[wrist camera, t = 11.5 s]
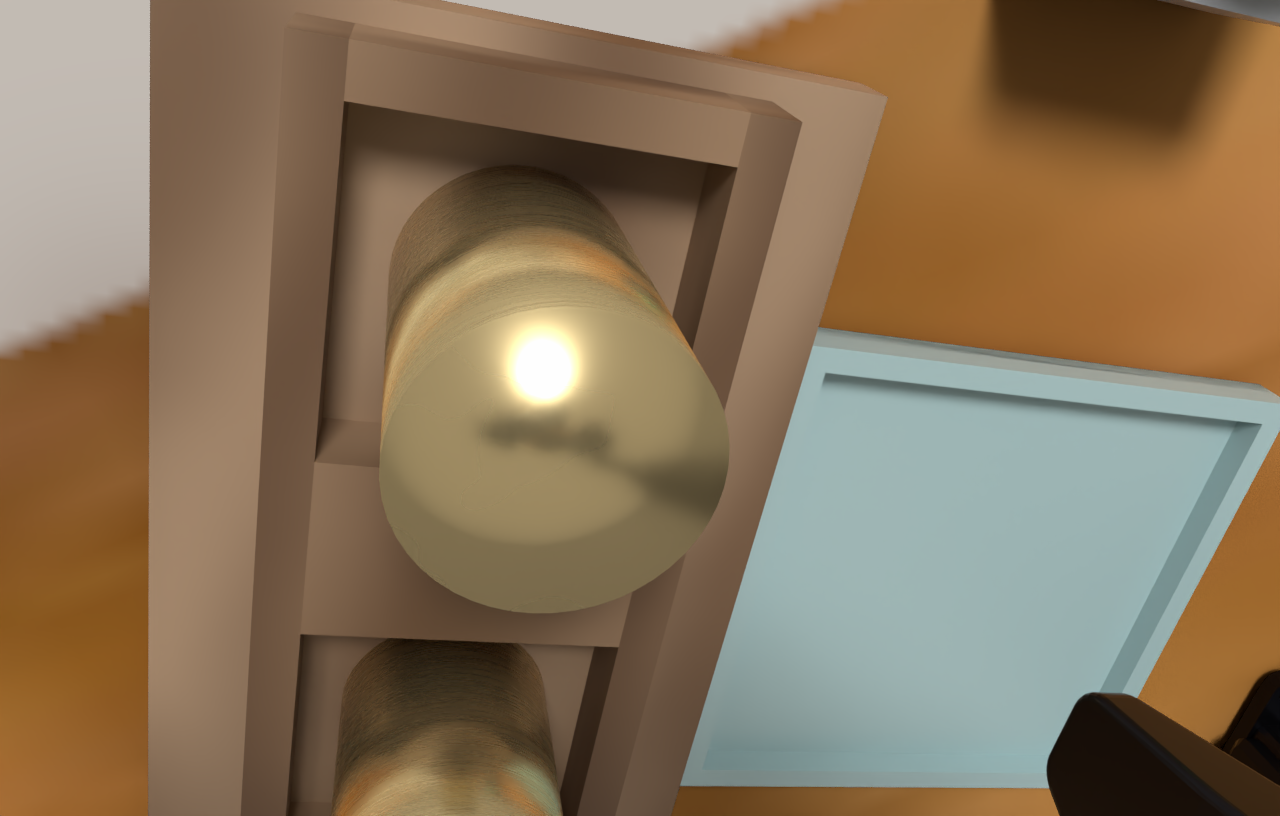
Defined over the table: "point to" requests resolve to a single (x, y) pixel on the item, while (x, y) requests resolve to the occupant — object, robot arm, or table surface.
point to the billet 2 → (445, 733)
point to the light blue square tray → (966, 560)
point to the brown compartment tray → (355, 352)
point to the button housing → (1237, 9)
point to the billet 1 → (539, 400)
